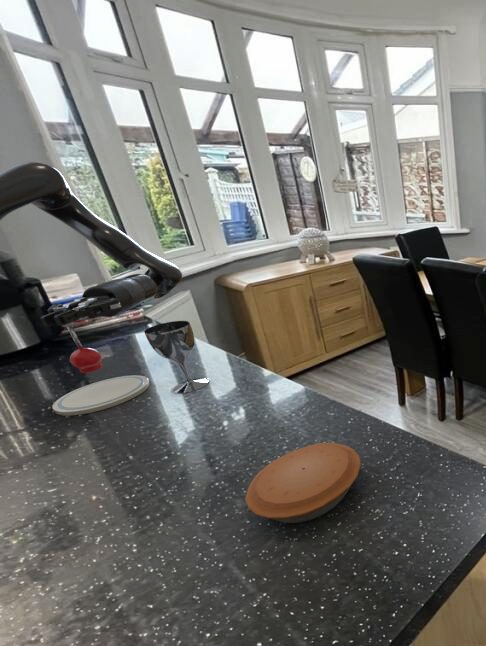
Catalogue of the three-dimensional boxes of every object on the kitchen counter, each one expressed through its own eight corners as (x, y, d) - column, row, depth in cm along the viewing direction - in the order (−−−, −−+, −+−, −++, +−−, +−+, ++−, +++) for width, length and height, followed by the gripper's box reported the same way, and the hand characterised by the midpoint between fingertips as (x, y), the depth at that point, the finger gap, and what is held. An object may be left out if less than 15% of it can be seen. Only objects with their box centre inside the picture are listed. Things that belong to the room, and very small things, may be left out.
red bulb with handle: (95, 373, 86) (61, 310, 80) (70, 375, 85) (35, 312, 79) (112, 363, 90) (81, 303, 84) (88, 365, 89) (56, 305, 84)
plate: (39, 424, 80) (36, 419, 80) (72, 389, 93) (70, 385, 93) (139, 402, 87) (137, 397, 87) (157, 372, 100) (155, 369, 100)
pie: (226, 531, 54) (214, 504, 52) (297, 457, 68) (289, 433, 66) (329, 542, 52) (321, 515, 50) (380, 463, 66) (375, 439, 64)
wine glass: (218, 381, 95) (196, 324, 89) (179, 397, 88) (153, 336, 82) (202, 374, 98) (180, 318, 92) (164, 389, 92) (137, 330, 86)
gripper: (76, 283, 93) (1, 307, 77) (140, 279, 95) (80, 301, 79) (91, 313, 96) (22, 341, 80) (153, 309, 98) (97, 335, 82)
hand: (51, 321), depth 80 cm, fingers closed on red bulb with handle
